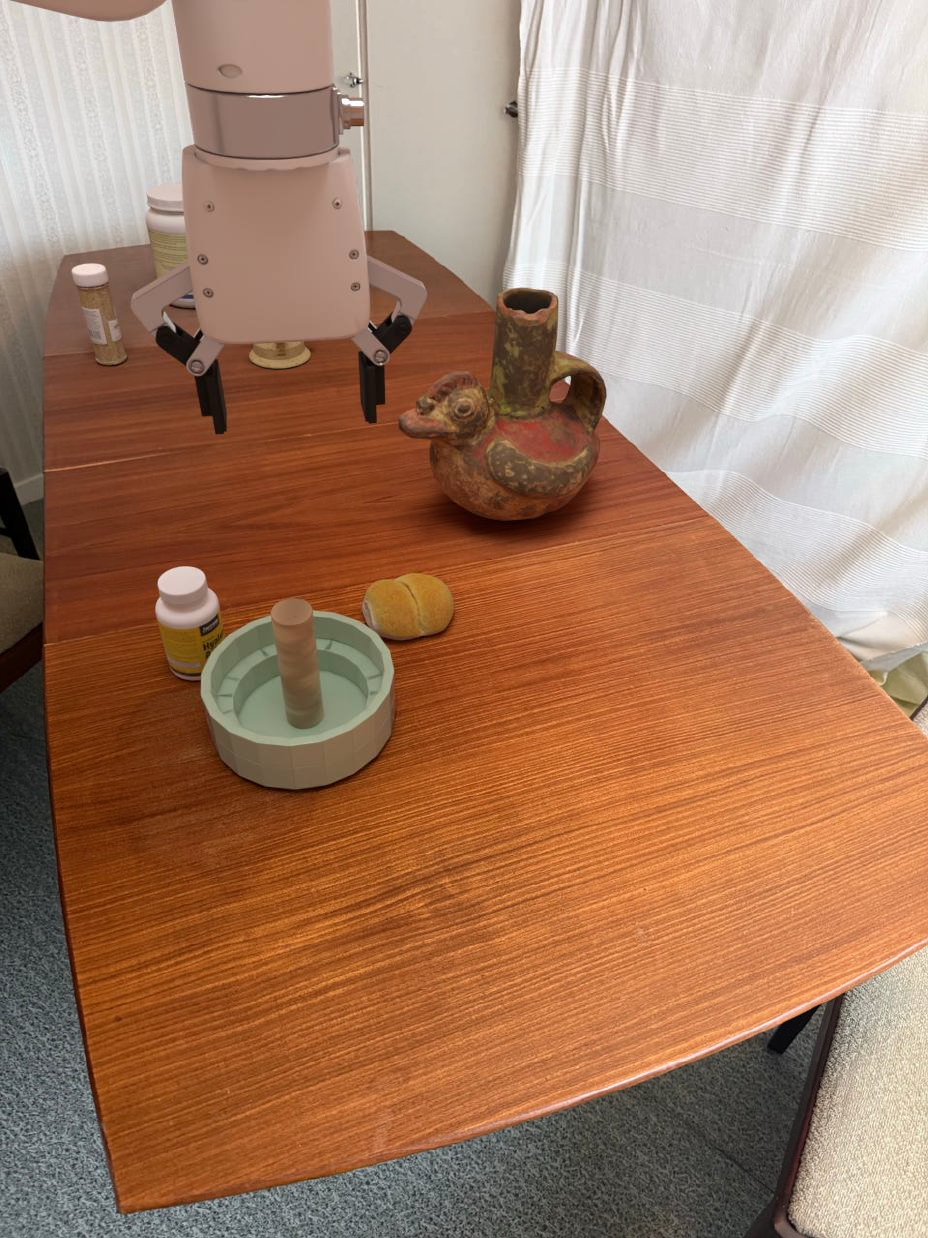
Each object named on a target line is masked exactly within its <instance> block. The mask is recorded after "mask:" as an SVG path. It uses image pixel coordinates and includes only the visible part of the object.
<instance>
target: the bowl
mask: <svg viewBox="0 0 928 1238" xmlns="http://www.w3.org/2000/svg"><path fill="white" fill-rule="evenodd" d="M313 618H314V627H315V636H316V645H317V655H318V664H319V673H320V682H321V691H322V700H323V709H324V716H323V719H322V721H321V722H320V723H319V724H318V725H316V726H314V727H312V728H309V729H298V728H295V727H293V726H291V725H290V724H289V723H288V721H287V717H286V710H285V704H284V697H283V691H282V684H281V678H280V672H279V665H278V659H277V652H276V646H275V639H274V633H273V626H272V620H271V614H270V615H266V616H263V617H260V618H258V619H255V620H252V621H250V622H248V623H246V624H245V625H243V626H241V627H240V628H238V629H236V630H234V631H233V632H231V633H230V634H228V635H227V636H225V637H226V638H225V639H224V640H223V641H222V642H221V643H220V644H219V645H218V646H217V647H216V648H215V649H214V650H213V651H212V652H211V654H210V656H209V658H208V661H207V663H206V665H205V667H204V669H203V671H202V674H201V680H200V697H201V702H202V706H203V710H204V715H205V718H206V723H207V726H208V730H209V734H210V738H211V741H212V743H213V745H214V747H215V749H216V752H217V755H218V756H219V758H220V760H221V761H222V762H223V763H224V764H226V765H227V766H228V767H229V768H230V769H232V770H233V772H234V773H236V774H237V775H238V776H239V777H242V778H244V779H247V780H249V781H251V782H254V783H256V784H258V785H261V786H263V787H266V788H268V787H270V788H278V789H288V790H303V789H310V788H317V787H322V786H327V785H331V784H333V783H336V782H337V781H340V780H342V779H345V778H347V777H349V776H352V775H354V774H355V773H357V772H358V771H359V770H361V769H362V768H364V767H365V766H366V765H367V764H368V763H370V762H371V761H372V760H374V759H375V758H376V757H377V756H378V755H379V753H380V752H381V751H382V749H383V747H384V746H385V745H386V743H387V741H388V740H389V738H390V737H391V735H392V732H393V728H394V722H395V719H396V687H395V685H396V683H395V682H396V681H395V667H394V663H393V659H392V654H391V650H390V648H389V647H388V646H387V644H386V643H385V642H384V641H383V639H382V637H381V636H379V635H378V634H377V633H376V632H375V631H373V630H372V629H370V628H369V626H368V625H366V624H364V623H363V622H361V621H360V620H357V619H354V618H352V617H349V616H345V615H343V614H340V613H337V612H333V611H323V610H314V609H313Z"/></svg>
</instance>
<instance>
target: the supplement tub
mask: <svg viewBox="0 0 928 1238" xmlns="http://www.w3.org/2000/svg"><path fill="white" fill-rule="evenodd" d="M146 204H147V206H148V207H149V208H148V210H147V211H146V212H145V226H146V230H147V234H148V239H149V245H150V249H151V254H152V259H153V260H152V261H153V264H154V268H155V274H156V279H158V278H159V277H161V276H163V275H164V274H166V273H168V272H169V271H171V270H173V269H174V268H176V267H178V266H179V265H181V264H183V263H184V262H186V261H188V260H189V259H188V251H187V242H186V232H185V222H184V210H183V198H182V182H175V183H173V182H172V183H164V184H160V185H156V186H152V187H151V188H149V189H147V191H146ZM171 305H172V306H175V307H179V308H185V309H196V308H195V302H194V296H193V291H192V292H190V293H188V294H187V295H185V296H183V297H182V298H180V299H178V300H177V301H175V302H173V303H172V304H171Z"/></svg>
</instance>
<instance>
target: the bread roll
mask: <svg viewBox="0 0 928 1238" xmlns="http://www.w3.org/2000/svg"><path fill="white" fill-rule="evenodd" d="M365 590H366V591H365V593H364V595H365V596H364V597H363V602H362V605H361V610H362V614H363V617H364V620H365V624H367V627H369V628H370V629H372V630H373V631H375V632H376V633H377V634H378V635H379V637H380V638H384V639H389V640H394V641H405V640H406V641H407V640H413V639H416V638H419V637H423V636H424V637H425V636H432V635H435V634H438V633H441V632H442V631H444V630H445V629H446V628H447V627H448V625H449V624H450V622H451V620H452V618H453V616H454V615H453V614H454V610H455V600H454V597H453V595H452V592H451V590H450V589H449V587H448V586H447V584H445V583H444V581H442V580H441V579H440V578H437V577H436V576H432V575H430V574H424V573H419V572H418V573H415V572H410V573H407V574H403V575H401V576H399V577H397V578H394V579H387V578H386V579H379V580H376V581H374V582H373V583H372V584H371V585H369V587H368V588H367V589H365Z"/></svg>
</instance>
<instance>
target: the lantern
mask: <svg viewBox="0 0 928 1238" xmlns="http://www.w3.org/2000/svg"><path fill="white" fill-rule="evenodd" d="M248 354H249V355H248V357H249V358H248V359H249V360H250V362H252V363H253V364H254V365H257V366H259V367H261V368H267V369H288V368H294V367H296V366H297V367H298V366H300V365H303V364H304V363H306V362H307V361H308V360H310V358H311V355H312V354H311V351H310V349H309V348H308V347H307V346H306V345H305V341H302V342H283V343H262V344H252V349H251V350H250V351H249V353H248Z"/></svg>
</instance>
